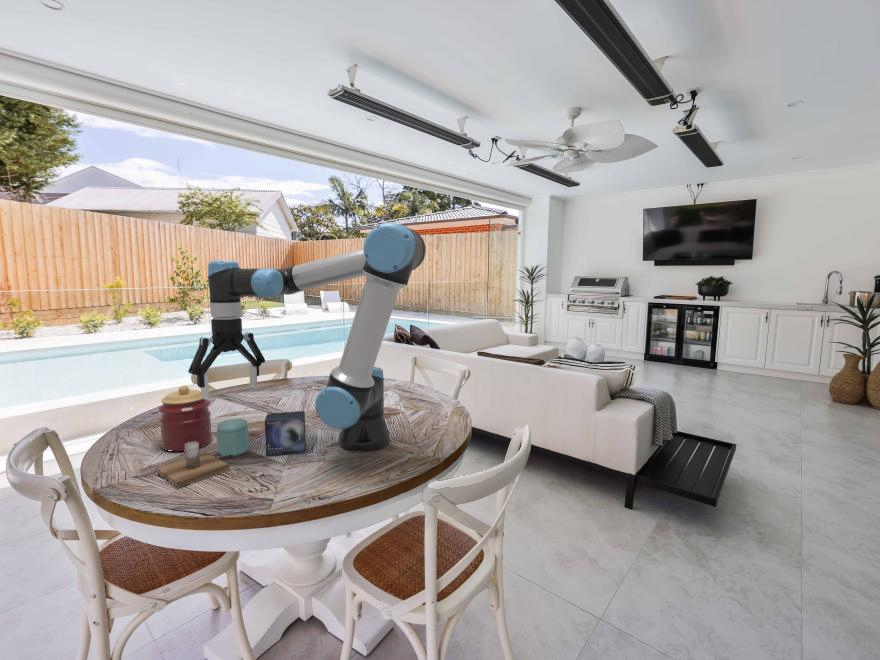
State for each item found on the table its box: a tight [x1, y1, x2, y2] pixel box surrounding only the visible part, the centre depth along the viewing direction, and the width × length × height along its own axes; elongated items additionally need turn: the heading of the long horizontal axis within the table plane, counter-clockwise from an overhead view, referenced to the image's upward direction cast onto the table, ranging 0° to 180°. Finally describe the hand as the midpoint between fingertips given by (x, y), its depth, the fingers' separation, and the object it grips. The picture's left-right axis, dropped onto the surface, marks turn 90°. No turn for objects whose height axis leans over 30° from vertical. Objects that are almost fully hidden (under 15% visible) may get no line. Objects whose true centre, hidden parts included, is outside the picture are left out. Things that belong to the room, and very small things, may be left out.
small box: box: [264, 410, 307, 457], centre depth 120 cm, size 11×6×10 cm, turn 106°
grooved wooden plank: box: [156, 441, 230, 488], centre depth 106 cm, size 12×12×8 cm
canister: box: [157, 385, 213, 452], centre depth 123 cm, size 13×13×18 cm
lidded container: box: [216, 418, 250, 457], centre depth 120 cm, size 8×8×8 cm
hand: (230, 393), depth 118 cm, fingers open, 13 cm apart
